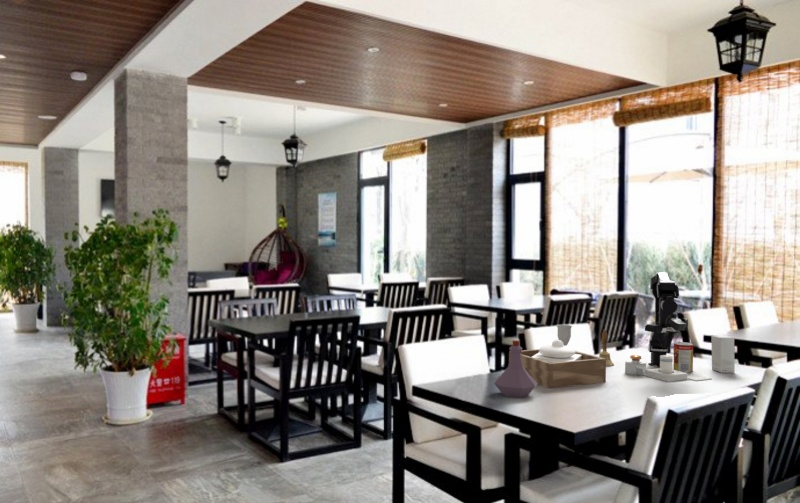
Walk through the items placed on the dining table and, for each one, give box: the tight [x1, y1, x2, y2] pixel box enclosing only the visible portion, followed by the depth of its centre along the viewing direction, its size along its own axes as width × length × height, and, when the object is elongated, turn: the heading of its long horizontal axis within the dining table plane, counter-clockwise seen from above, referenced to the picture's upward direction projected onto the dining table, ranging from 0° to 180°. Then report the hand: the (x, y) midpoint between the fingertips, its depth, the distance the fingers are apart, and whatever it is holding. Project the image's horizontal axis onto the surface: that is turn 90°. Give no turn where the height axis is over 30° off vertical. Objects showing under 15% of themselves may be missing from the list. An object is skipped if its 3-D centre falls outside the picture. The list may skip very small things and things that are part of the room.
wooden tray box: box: [508, 348, 607, 389], centre depth 256 cm, size 28×28×10 cm
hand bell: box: [598, 329, 615, 367], centre depth 285 cm, size 8×8×16 cm
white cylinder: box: [659, 354, 674, 373], centre depth 258 cm, size 5×5×9 cm
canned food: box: [672, 341, 694, 373], centre depth 273 cm, size 8×8×12 cm
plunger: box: [629, 354, 642, 364], centre depth 265 cm, size 4×4×7 cm
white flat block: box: [644, 367, 688, 382], centre depth 258 cm, size 12×11×2 cm
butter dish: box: [532, 339, 582, 363], centre depth 256 cm, size 18×18×16 cm
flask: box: [493, 339, 538, 399], centre depth 228 cm, size 16×16×20 cm
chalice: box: [556, 324, 573, 346], centre depth 284 cm, size 7×7×18 cm
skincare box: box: [710, 334, 736, 374], centre depth 272 cm, size 8×7×16 cm
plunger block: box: [624, 360, 647, 377], centre depth 265 cm, size 6×6×5 cm
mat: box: [686, 373, 713, 382], centre depth 258 cm, size 9×9×1 cm
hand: (665, 347), depth 258 cm, fingers open, 2 cm apart
